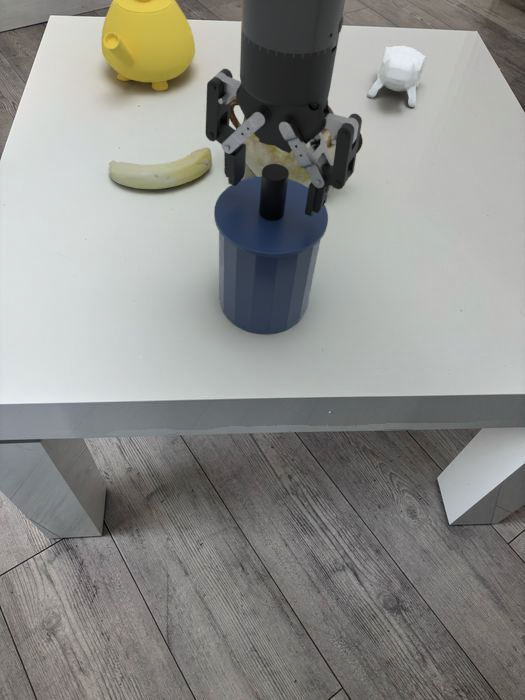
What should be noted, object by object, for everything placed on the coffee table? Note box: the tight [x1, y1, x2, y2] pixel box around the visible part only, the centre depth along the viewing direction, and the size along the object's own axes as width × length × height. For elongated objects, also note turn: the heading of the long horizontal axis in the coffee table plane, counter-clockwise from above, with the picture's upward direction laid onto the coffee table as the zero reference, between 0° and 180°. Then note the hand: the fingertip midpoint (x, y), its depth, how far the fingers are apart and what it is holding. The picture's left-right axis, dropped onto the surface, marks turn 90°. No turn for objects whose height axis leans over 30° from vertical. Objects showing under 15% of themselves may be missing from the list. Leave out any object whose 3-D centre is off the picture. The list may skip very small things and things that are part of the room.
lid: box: [213, 164, 329, 258], centre depth 55 cm, size 12×12×6 cm
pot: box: [218, 231, 321, 335], centre depth 62 cm, size 11×11×14 cm
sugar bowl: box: [229, 97, 364, 188], centre depth 76 cm, size 20×15×15 cm
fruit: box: [108, 147, 213, 190], centre depth 78 cm, size 7×15×3 cm, turn 101°
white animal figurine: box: [367, 45, 428, 108], centre depth 94 cm, size 9×8×15 cm
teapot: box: [100, 0, 196, 92], centre depth 89 cm, size 20×16×14 cm
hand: (273, 195), depth 55 cm, fingers open, 8 cm apart
